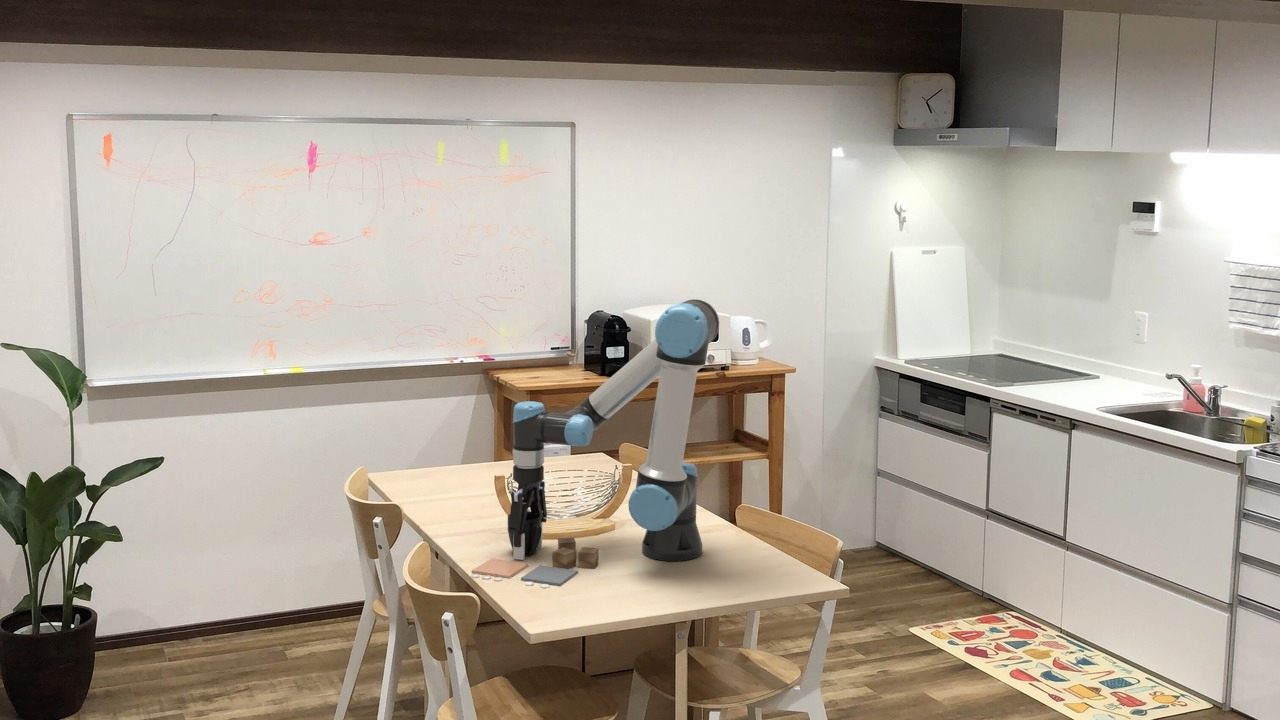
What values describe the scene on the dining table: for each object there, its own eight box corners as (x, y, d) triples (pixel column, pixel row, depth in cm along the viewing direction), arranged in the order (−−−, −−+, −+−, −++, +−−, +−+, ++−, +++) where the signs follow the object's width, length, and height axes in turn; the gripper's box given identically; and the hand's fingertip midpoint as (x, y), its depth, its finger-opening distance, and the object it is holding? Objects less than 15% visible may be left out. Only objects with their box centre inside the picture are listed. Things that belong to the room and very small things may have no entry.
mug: (523, 564, 297) (523, 526, 296) (502, 550, 308) (502, 513, 306) (553, 559, 302) (553, 521, 300) (532, 545, 312) (531, 509, 310)
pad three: (528, 565, 296) (528, 563, 296) (503, 582, 284) (503, 579, 284) (491, 560, 300) (491, 558, 300) (465, 576, 288) (465, 573, 288)
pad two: (577, 572, 292) (578, 570, 291) (554, 589, 280) (554, 587, 280) (539, 567, 295) (539, 565, 295) (515, 583, 283) (515, 581, 283)
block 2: (575, 566, 297) (576, 550, 296) (565, 570, 293) (565, 554, 293) (563, 563, 299) (563, 547, 298) (552, 567, 296) (552, 551, 295)
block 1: (574, 553, 307) (574, 537, 306) (575, 558, 303) (575, 542, 302) (558, 553, 306) (558, 538, 306) (559, 558, 302) (559, 542, 302)
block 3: (598, 564, 299) (598, 548, 298) (594, 569, 295) (594, 553, 294) (582, 562, 299) (582, 547, 299) (578, 568, 296) (578, 551, 295)
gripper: (534, 453, 313) (533, 539, 316) (493, 473, 293) (493, 564, 296) (561, 457, 310) (560, 543, 314) (521, 476, 290) (521, 568, 294)
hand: (528, 553), depth 305 cm, fingers open, 9 cm apart
